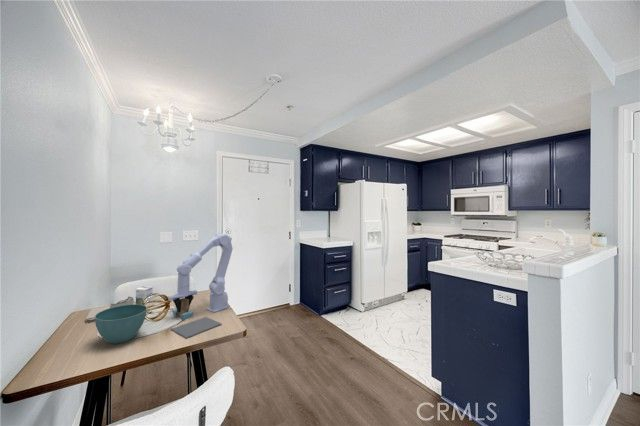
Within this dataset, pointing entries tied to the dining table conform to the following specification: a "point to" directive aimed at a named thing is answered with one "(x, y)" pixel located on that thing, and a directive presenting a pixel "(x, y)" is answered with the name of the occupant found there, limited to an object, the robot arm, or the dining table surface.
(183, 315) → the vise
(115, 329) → the teal bowl
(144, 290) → the syrup box
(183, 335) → the rubber mat
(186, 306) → the walnut block
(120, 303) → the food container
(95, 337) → the dining table surface
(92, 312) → the washcloth
